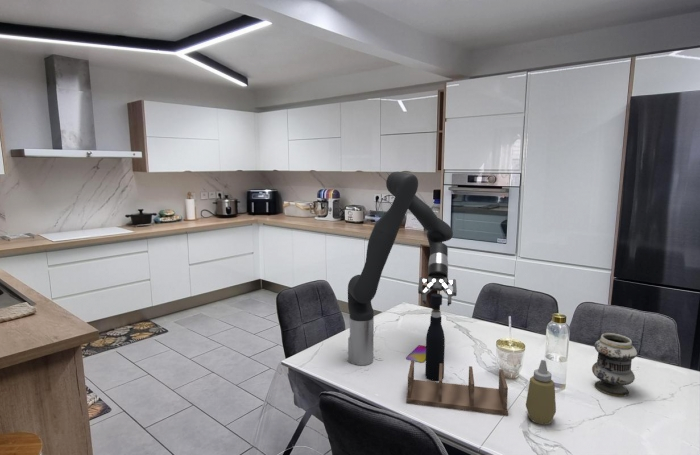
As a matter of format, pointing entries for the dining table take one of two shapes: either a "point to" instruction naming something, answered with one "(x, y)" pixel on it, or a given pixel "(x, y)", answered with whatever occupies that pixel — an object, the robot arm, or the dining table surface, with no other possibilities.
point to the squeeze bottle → (541, 396)
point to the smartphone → (418, 354)
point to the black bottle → (435, 341)
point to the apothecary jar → (614, 364)
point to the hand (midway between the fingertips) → (436, 303)
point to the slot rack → (458, 394)
